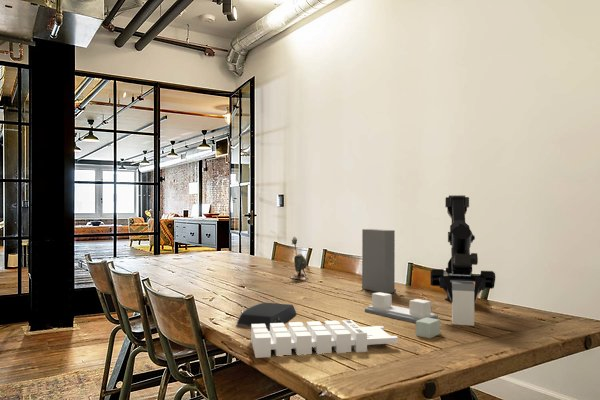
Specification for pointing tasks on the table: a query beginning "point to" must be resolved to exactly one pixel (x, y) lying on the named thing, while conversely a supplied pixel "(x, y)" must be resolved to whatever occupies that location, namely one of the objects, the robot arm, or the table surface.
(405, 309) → the board
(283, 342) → the organizer
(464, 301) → the block
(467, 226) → the robot arm
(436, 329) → the box
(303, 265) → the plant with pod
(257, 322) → the dark grey faceted block
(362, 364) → the table surface
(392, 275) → the tall upright grey panel
